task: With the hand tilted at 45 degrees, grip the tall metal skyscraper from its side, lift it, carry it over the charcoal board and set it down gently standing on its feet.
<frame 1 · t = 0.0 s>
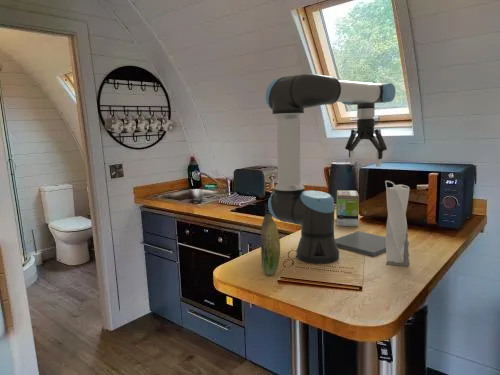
hand: (364, 165, 176), 28 cm above the worktop, tool pointing down, fingers open, 13 cm apart
tea box: (347, 222, 187), on the worktop
charcoal board: (365, 244, 152), on the worktop
skyscraper: (395, 262, 132), on the worktop
vegetable: (271, 275, 124), on the worktop
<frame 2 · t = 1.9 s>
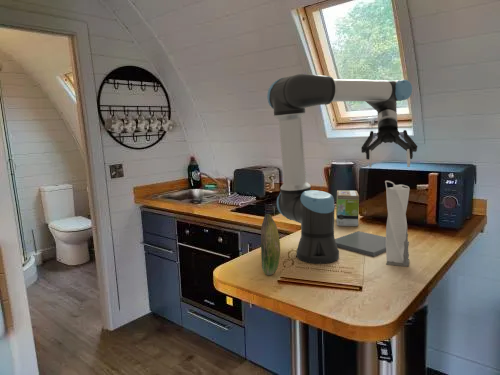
hand: (389, 165, 144), 31 cm above the worktop, tool tilted 45°, fingers open, 13 cm apart
nothing on the worktop moved.
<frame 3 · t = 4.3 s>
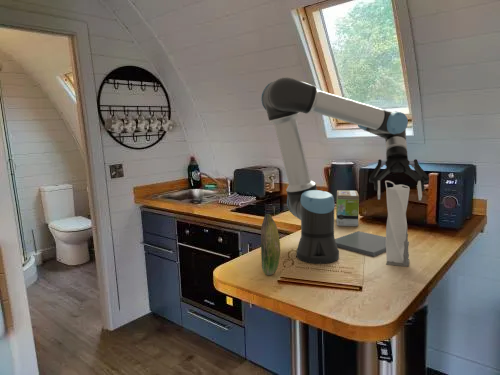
hand: (399, 198, 135), 21 cm above the worktop, tool tilted 45°, fingers open, 13 cm apart
nothing on the worktop moved.
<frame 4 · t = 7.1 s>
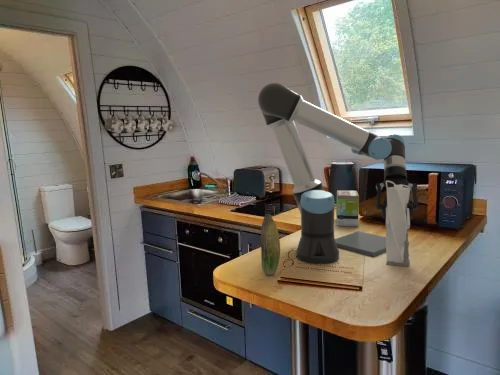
hand: (397, 226, 127), 13 cm above the worktop, tool tilted 45°, fingers closed on skyscraper, 6 cm apart
skyscraper: (395, 261, 132), on the worktop, touching gripper
everything else where it was.
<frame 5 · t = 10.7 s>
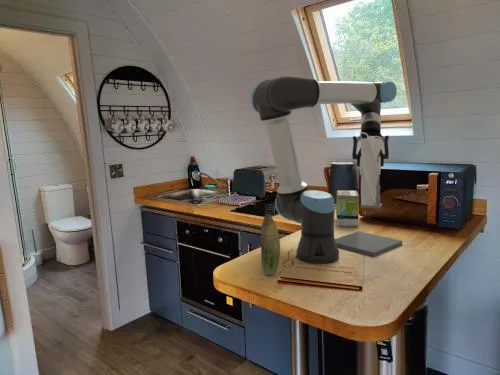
hand: (370, 172, 142), 29 cm above the worktop, tool tilted 45°, fingers closed on skyscraper, 6 cm apart
skyscraper: (369, 206, 148), point 16 cm above the worktop, touching gripper
everything else where it was.
when the fingers open (16 cm above the worktop, at t = 14.4 s): skyscraper drops 1 cm, resting on charcoal board.
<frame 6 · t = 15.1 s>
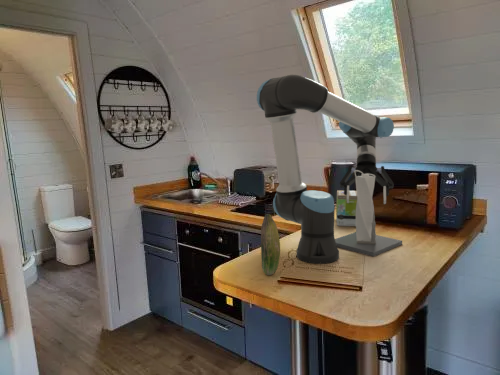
hand: (366, 201, 147), 18 cm above the worktop, tool tilted 45°, fingers open, 13 cm apart
skyscraper: (364, 241, 152), point 1 cm above the worktop, touching charcoal board
everything else where it was.
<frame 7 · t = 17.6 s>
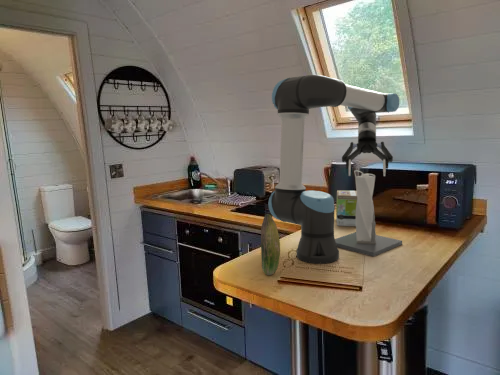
hand: (366, 174, 156), 27 cm above the worktop, tool tilted 45°, fingers open, 13 cm apart
nothing on the worktop moved.
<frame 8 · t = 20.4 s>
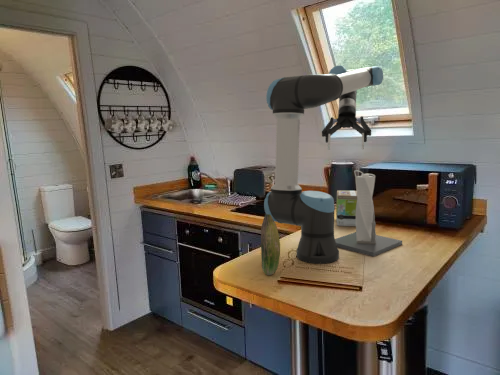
hand: (345, 147, 158), 38 cm above the worktop, tool tilted 45°, fingers open, 13 cm apart
nothing on the worktop moved.
at the end: skyscraper inside the target area on the charcoal board (0.3 cm from its centre), point 1.3 cm above the charcoal board's base; skyscraper tilted 0°; the gripper is holding nothing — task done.
